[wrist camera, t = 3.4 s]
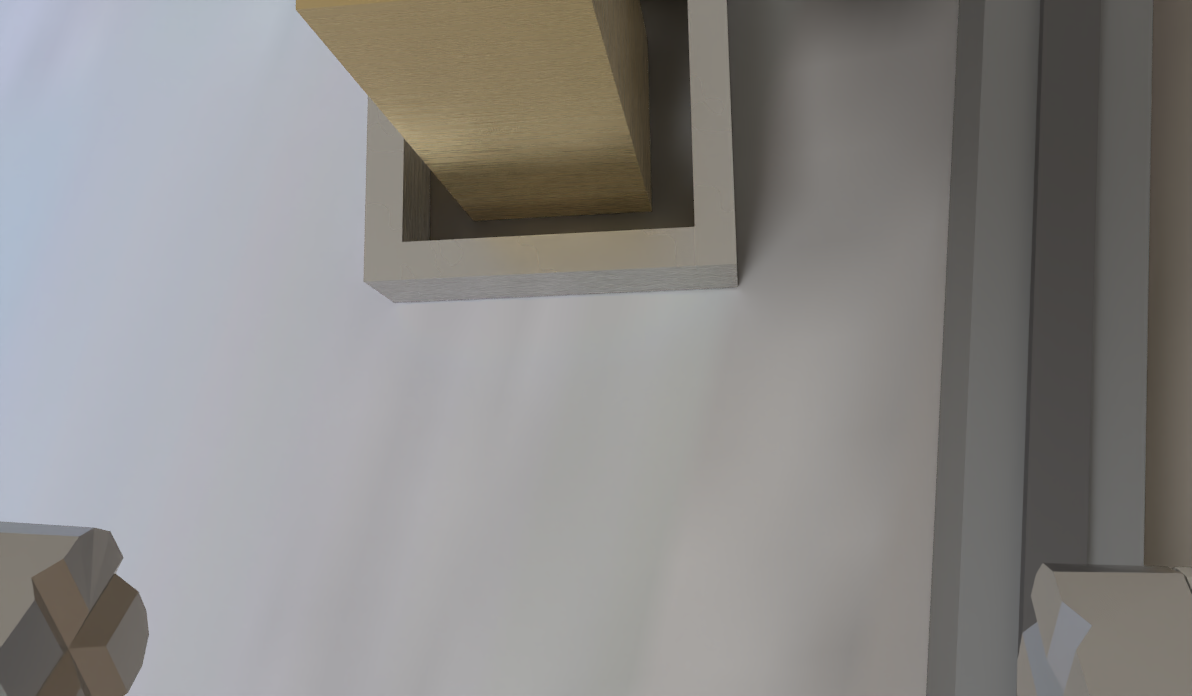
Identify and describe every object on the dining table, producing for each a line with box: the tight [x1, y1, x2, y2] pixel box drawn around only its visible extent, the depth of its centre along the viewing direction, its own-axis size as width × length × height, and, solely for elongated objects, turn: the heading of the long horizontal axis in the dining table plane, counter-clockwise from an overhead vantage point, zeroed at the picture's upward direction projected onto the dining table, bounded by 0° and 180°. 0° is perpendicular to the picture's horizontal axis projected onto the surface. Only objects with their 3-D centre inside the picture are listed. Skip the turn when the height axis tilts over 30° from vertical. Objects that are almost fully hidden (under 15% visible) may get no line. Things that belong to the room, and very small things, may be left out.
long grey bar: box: [926, 0, 1153, 696], centre depth 22 cm, size 26×3×3 cm, turn 174°
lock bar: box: [296, 0, 652, 221], centre depth 20 cm, size 4×4×10 cm
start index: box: [364, 0, 738, 303], centre depth 24 cm, size 8×8×2 cm
